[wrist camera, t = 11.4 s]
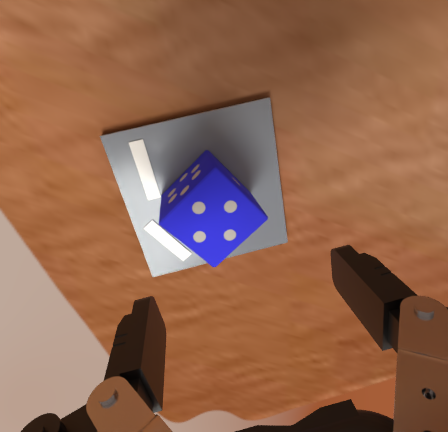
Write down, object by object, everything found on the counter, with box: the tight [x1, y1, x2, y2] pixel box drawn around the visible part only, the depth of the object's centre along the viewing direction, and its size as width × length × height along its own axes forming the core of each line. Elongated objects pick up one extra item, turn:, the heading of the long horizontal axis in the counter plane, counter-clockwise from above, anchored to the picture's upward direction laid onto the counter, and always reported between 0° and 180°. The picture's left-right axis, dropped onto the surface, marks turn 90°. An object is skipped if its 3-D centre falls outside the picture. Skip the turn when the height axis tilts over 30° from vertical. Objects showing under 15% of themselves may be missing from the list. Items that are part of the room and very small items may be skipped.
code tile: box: [100, 97, 288, 277], centre depth 23 cm, size 12×12×1 cm
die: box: [159, 150, 268, 267], centre depth 21 cm, size 5×5×5 cm
